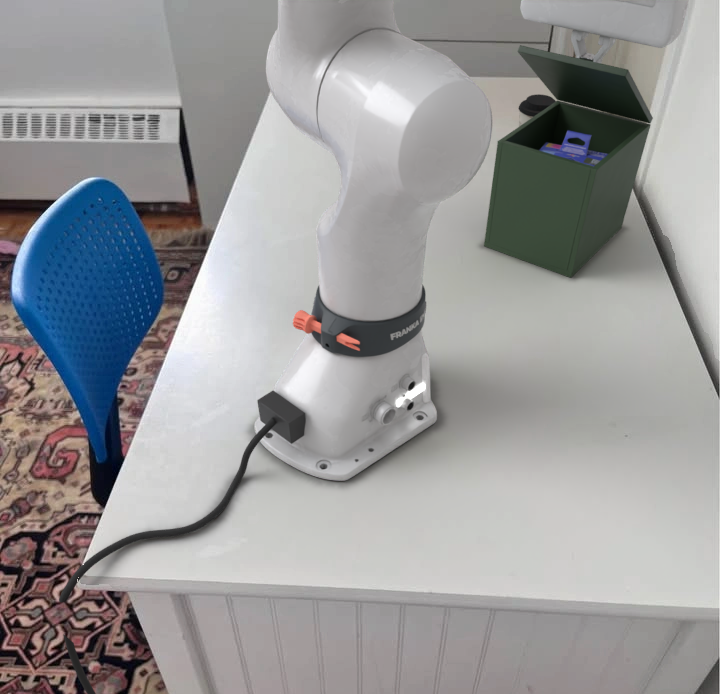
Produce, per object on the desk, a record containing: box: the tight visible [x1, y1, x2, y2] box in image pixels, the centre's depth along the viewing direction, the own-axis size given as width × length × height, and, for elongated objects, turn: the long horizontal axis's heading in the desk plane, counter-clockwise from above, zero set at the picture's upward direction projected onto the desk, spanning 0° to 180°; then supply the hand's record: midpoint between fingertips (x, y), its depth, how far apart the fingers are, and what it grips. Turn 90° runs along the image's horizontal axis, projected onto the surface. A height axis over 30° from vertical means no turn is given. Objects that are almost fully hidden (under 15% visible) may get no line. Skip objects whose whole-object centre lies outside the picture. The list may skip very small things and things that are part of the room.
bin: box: [483, 100, 652, 278], centre depth 106 cm, size 18×15×16 cm
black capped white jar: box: [517, 94, 557, 127], centre depth 126 cm, size 7×7×10 cm
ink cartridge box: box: [539, 130, 608, 167], centre depth 105 cm, size 10×6×14 cm, turn 62°
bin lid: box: [517, 44, 654, 124], centre depth 96 cm, size 18×15×1 cm
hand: (586, 71), depth 93 cm, fingers closed
